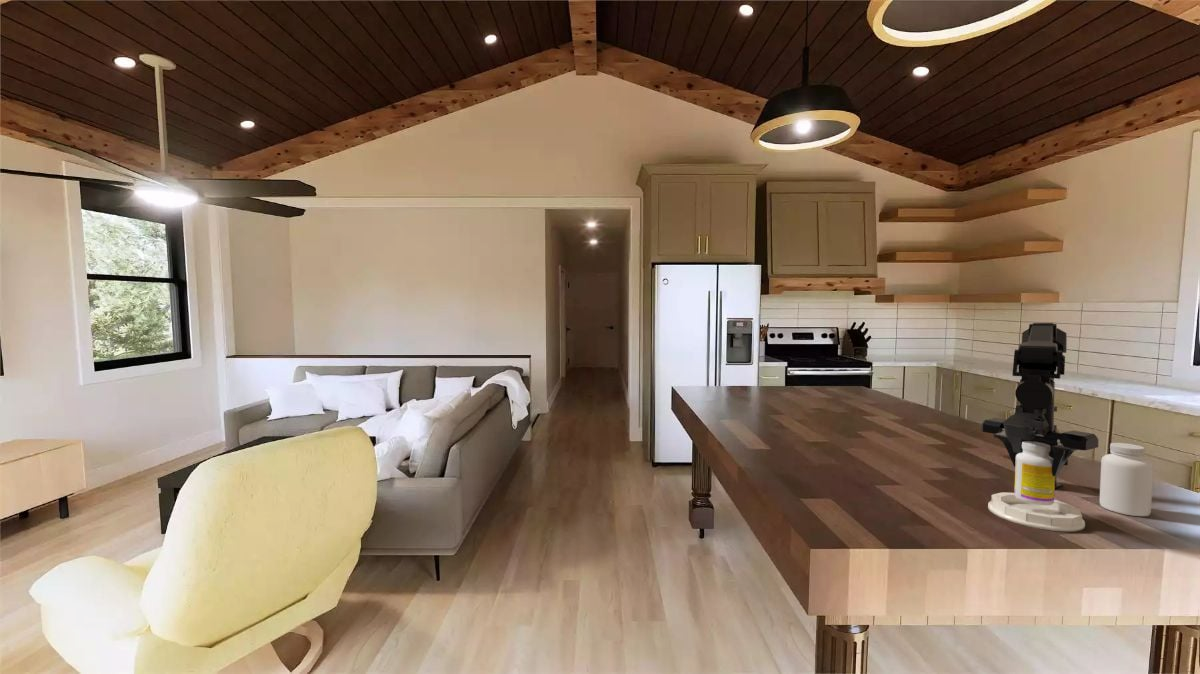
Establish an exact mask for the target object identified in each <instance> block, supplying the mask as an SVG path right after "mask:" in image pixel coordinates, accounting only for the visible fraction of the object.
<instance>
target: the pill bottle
mask: <svg viewBox="0 0 1200 674" xmlns="http://www.w3.org/2000/svg"><path fill="white" fill-rule="evenodd" d="M1109 449H1110V450H1109V452H1110V453H1108V454H1104V455H1103V456H1102V457H1101V462H1100V479H1099V480H1100V483H1099V505H1100V507H1102V508H1104V509H1106V510H1108V511H1111V512H1114V513H1117V514H1120V515H1126V516H1132V517H1134V516H1135V517H1149V516H1150V515H1151V512H1152V497H1153V495H1152V494H1153V475H1154V467H1153V464H1152V462H1150V460H1148V459H1145V454H1146V449H1145V447H1144V446H1142V445H1137V444H1132V443H1128V442H1127V443H1126V442H1111V443H1110V444H1109Z"/></svg>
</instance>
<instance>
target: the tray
mask: <svg viewBox="0 0 1200 674" xmlns="http://www.w3.org/2000/svg"><path fill="white" fill-rule="evenodd" d="M987 504H988V505H987V508H988V511H989V512H990V513H992V514H993V515H995V516H996V517H998V518H1001V519H1003V520H1006V521H1008V522H1011V523H1015V524H1017V525H1021V526H1025V527H1030V528H1033V529H1038V530H1044V531H1051V532H1060V533H1061V532H1062V533H1066V532H1067V533H1071V532H1074V533H1075V532H1080V531H1083V530H1084V529H1086V522H1085V520H1084V518H1083V515H1082V514H1083V513H1081V511H1080V509H1079V508H1077V507H1075V506H1073V505H1071V504H1068V503H1066V502H1063V501H1060V500H1057V499H1054V503H1053V504H1052V505H1035V504H1030V503H1027V502H1024V501H1021V500H1019V499H1017V498H1016V497H1015V495H1014V492H1005V491H1004V492H997V493H994V494H991V500H990V501H989V502H988V503H987Z"/></svg>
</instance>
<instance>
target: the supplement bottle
mask: <svg viewBox="0 0 1200 674" xmlns="http://www.w3.org/2000/svg"><path fill="white" fill-rule="evenodd" d="M1022 449H1023V452H1020V453H1018V454H1017V455H1016V460H1015V467H1014V470H1015V471H1014V488H1013V489H1014V490H1013V493H1014V495H1015V497H1016V498H1017V499H1019V500H1021V501H1024V502H1027V503H1030V504H1035V505H1052V504H1053V503H1054V500H1055V494H1056V493H1055V489H1056V488H1055V476H1053V474H1052V466H1053V458H1052V457H1050V456H1049V452H1050V445H1048V444H1044V443H1039V442H1032V441H1024V442H1022Z"/></svg>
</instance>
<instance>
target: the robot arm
mask: <svg viewBox="0 0 1200 674" xmlns="http://www.w3.org/2000/svg"><path fill="white" fill-rule="evenodd" d="M1057 325H1058V324H1057V323H1054V322H1033V323H1029V325H1028V329H1026V330H1024V331H1023V332H1021V343H1019V345H1018V349H1014V353H1013V364H1012V365H1013V366H1012V373H1011V376H1012V377H1021V378H1020V379H1019V384H1018V386H1017V387H1016V388H1015V393H1014V395H1015V398H1016V400H1017V401H1018V403H1019V404H1018V405H1016V406H1015V411H1014V414H1012V415H1010V416H1009V417H1008V418H1006V419H1003V418H998V417H995V418H989V419H988V418H987V419H985V420H983V421H982V423H981V432H983V433H988V434H993V437H994V439H995V438H996V439H998V440H1000V442H1001V443H1002V444H1003V445H1004V447H1005V449H1006V450H1007V453H1008V456H1009V457H1010V460H1011V463H1012V466H1013V467H1014V468H1015V460H1016V455H1017V454H1018V453H1020V452H1023V449H1022V442H1024V441H1032V442H1039V443H1044V444H1048V445H1050V452H1049V456H1050V457H1052V458H1053V466H1052V474H1053V476H1055V489H1057V488H1061V487H1064V484H1063V483H1062V482H1061V483H1060V482H1057V481H1058V479H1057V477H1058V476H1059V473H1060V472H1061V470H1062V469H1063V467H1064V466H1068V464H1069V462H1068V461H1069V458H1070V457H1071V456H1072V455H1073V453H1075V451H1088V450H1089V451H1090V450H1094V449H1097V448H1099V438H1098V436H1097V435H1096V434H1095V433H1092V432H1091V433H1090V432H1085V431H1077V430H1070V431H1069V430H1068V431H1063V432H1061V431H1060V432H1059V430H1058V429H1057V428H1058V427H1057V424H1054V423H1055V422H1054V421H1055V412H1058V406H1055V390H1056V389H1055V385H1056V383H1055V379H1058V380H1060V379H1061V375H1062V376H1063V375H1064V376H1065V369H1066V368H1065V366H1066V365H1065V364H1066V356H1065V355H1064V354H1067V343H1068V339H1067V332H1065V331H1063V329H1060V328H1058V327H1057Z"/></svg>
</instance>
